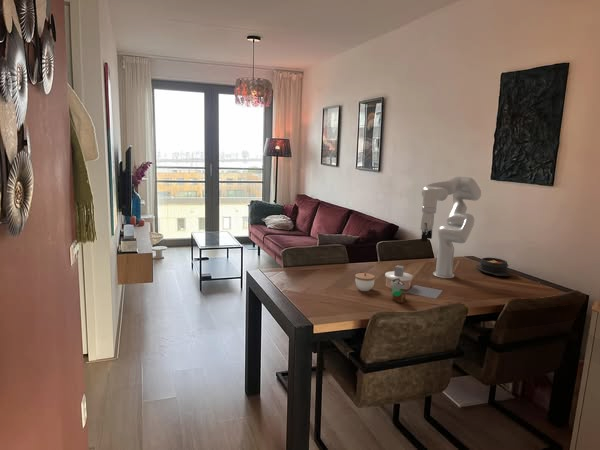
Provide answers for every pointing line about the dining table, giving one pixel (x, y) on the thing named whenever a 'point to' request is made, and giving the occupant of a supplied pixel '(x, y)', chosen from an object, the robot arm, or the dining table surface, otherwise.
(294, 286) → the dining table surface
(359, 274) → the lidded jar
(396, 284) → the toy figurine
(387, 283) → the bowl
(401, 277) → the lid
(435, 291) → the mat
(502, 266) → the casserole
